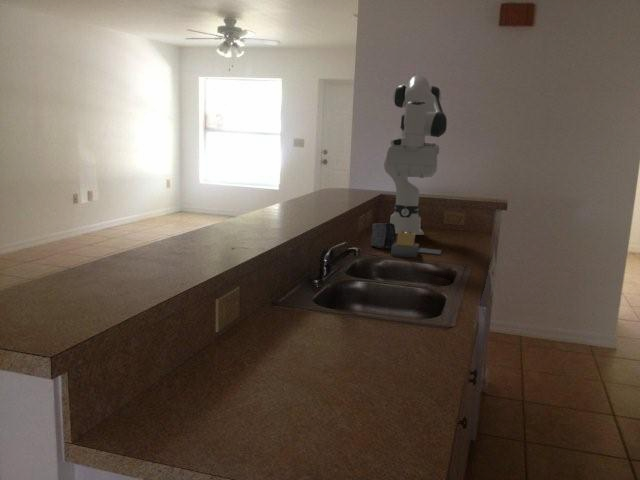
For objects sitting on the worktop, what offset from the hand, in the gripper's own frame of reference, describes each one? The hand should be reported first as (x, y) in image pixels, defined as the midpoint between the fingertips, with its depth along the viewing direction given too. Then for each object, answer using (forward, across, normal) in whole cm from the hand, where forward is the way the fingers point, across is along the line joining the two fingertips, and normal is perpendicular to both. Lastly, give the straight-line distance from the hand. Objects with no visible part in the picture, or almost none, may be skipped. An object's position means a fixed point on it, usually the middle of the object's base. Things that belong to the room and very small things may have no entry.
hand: (410, 177), depth 229 cm
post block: (+31, -1, +2) cm, 31 cm away
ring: (+27, -1, +2) cm, 27 cm away
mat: (+31, -10, -8) cm, 34 cm away
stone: (+31, +10, -9) cm, 34 cm away
